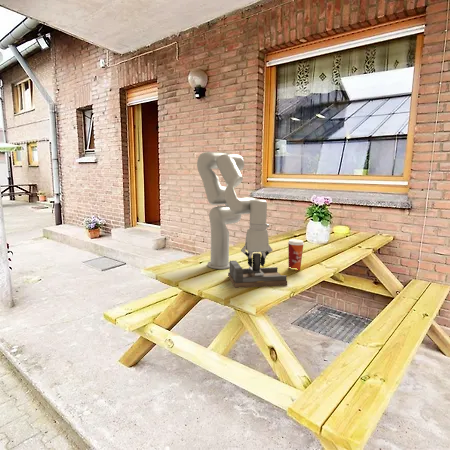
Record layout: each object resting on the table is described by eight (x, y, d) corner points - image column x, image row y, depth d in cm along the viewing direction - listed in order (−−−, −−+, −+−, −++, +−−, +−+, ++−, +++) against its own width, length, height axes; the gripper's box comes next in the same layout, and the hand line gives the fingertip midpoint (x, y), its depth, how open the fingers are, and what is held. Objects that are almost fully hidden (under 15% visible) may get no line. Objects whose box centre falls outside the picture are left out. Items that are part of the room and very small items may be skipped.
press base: (228, 276, 160) (228, 260, 158) (275, 274, 165) (276, 258, 163) (235, 287, 145) (235, 270, 144) (287, 285, 150) (288, 268, 149)
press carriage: (248, 272, 159) (249, 251, 157) (256, 272, 160) (257, 251, 158) (254, 279, 149) (255, 257, 147) (263, 279, 150) (264, 256, 148)
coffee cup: (294, 272, 169) (296, 243, 166) (283, 267, 175) (284, 240, 172) (306, 269, 173) (307, 241, 171) (294, 265, 180) (295, 238, 177)
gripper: (272, 225, 156) (271, 262, 159) (237, 225, 152) (236, 264, 156) (278, 228, 148) (276, 267, 152) (241, 228, 145) (240, 269, 148)
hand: (256, 265), depth 154 cm, fingers open, 5 cm apart
